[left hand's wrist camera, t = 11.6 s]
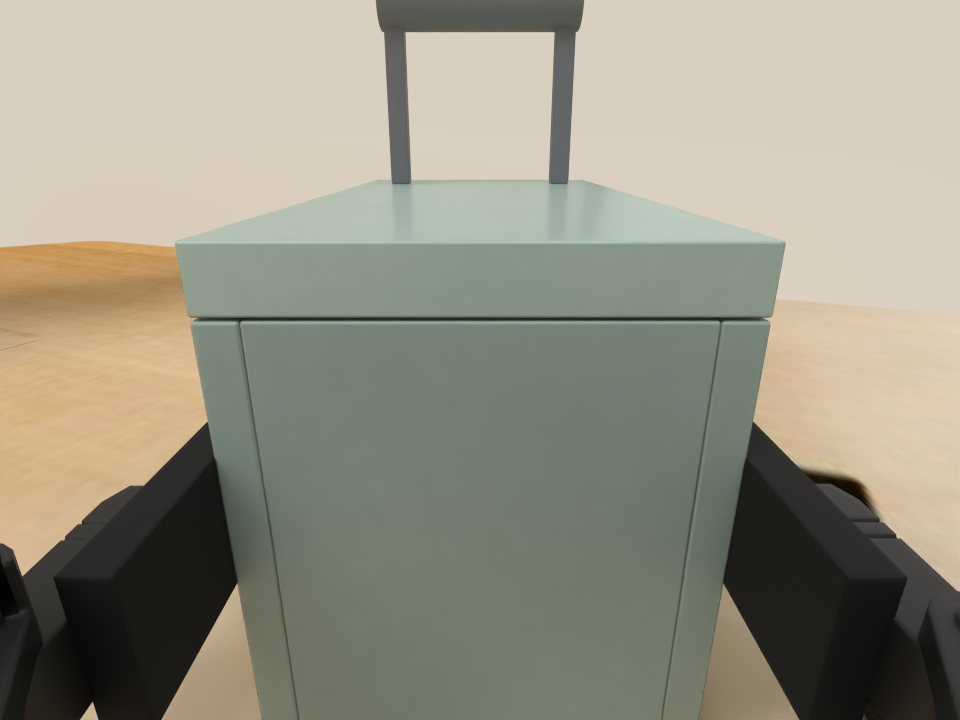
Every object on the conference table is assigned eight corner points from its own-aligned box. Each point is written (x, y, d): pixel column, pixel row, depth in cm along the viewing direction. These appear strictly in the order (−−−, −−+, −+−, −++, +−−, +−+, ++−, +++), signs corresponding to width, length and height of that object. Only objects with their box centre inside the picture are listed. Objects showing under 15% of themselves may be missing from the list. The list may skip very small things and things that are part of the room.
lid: (378, 207, 26) (365, -9, 23) (581, 207, 26) (594, -9, 23) (187, 318, 9) (47, -446, 6) (773, 318, 9) (913, -445, 6)
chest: (387, 418, 29) (374, 210, 25) (572, 418, 29) (584, 210, 25) (269, 766, 13) (187, 321, 9) (691, 766, 13) (773, 321, 9)
